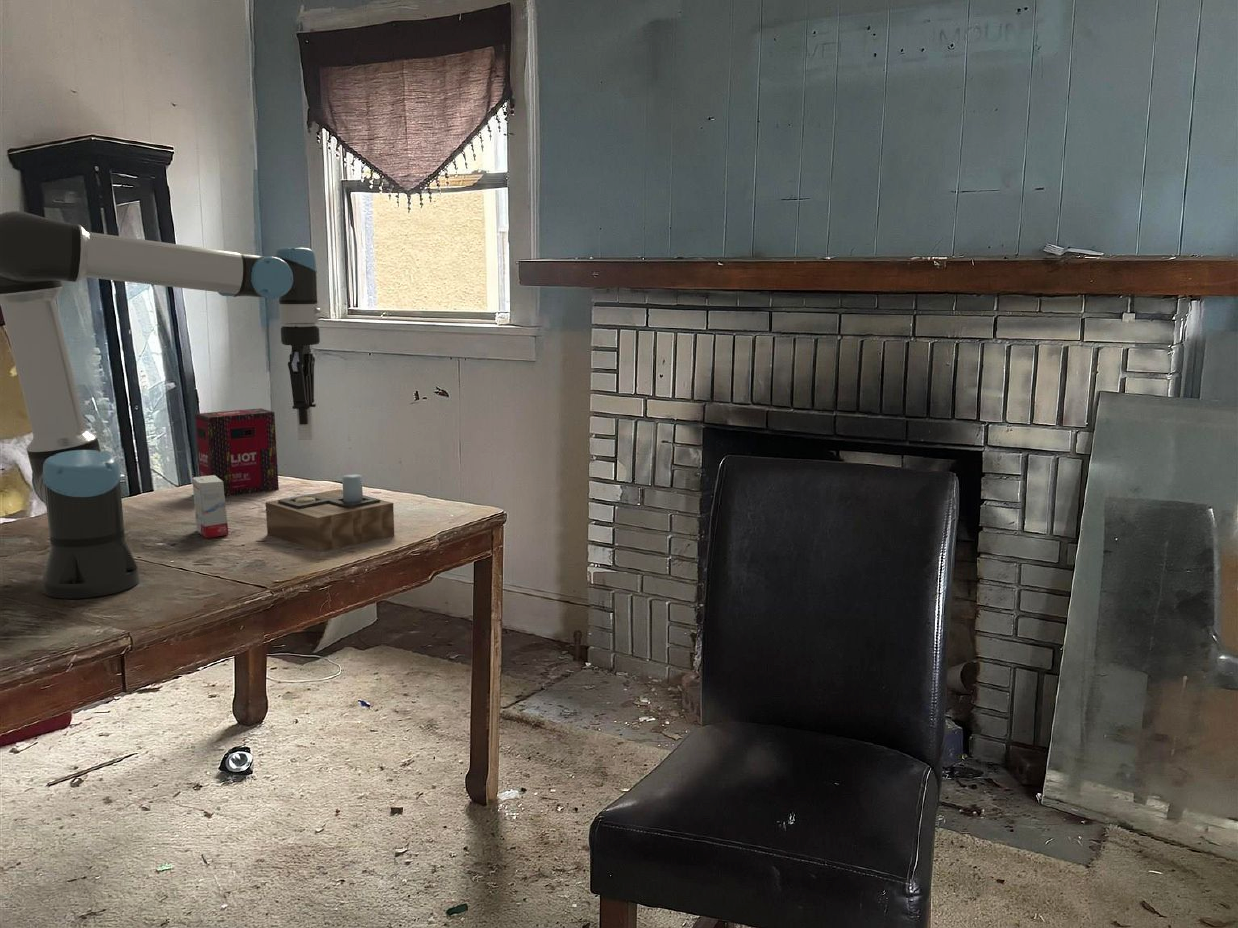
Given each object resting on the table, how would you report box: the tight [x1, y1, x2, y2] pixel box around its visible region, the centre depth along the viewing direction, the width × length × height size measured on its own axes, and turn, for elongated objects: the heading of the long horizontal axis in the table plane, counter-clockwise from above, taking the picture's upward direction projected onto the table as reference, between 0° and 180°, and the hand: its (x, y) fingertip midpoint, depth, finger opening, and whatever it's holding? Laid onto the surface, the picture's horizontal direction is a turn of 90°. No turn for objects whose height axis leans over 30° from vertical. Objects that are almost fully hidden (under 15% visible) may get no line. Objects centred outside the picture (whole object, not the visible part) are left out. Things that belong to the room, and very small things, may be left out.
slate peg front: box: [341, 474, 364, 503], centre depth 214 cm, size 4×4×8 cm
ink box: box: [191, 475, 230, 539], centre depth 215 cm, size 9×5×12 cm, turn 33°
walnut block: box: [265, 488, 395, 553], centre depth 215 cm, size 18×20×8 cm
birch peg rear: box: [295, 497, 315, 504], centre depth 214 cm, size 4×4×8 cm
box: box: [194, 407, 280, 498], centre depth 255 cm, size 16×9×20 cm, turn 130°
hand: (306, 439), depth 211 cm, fingers closed
